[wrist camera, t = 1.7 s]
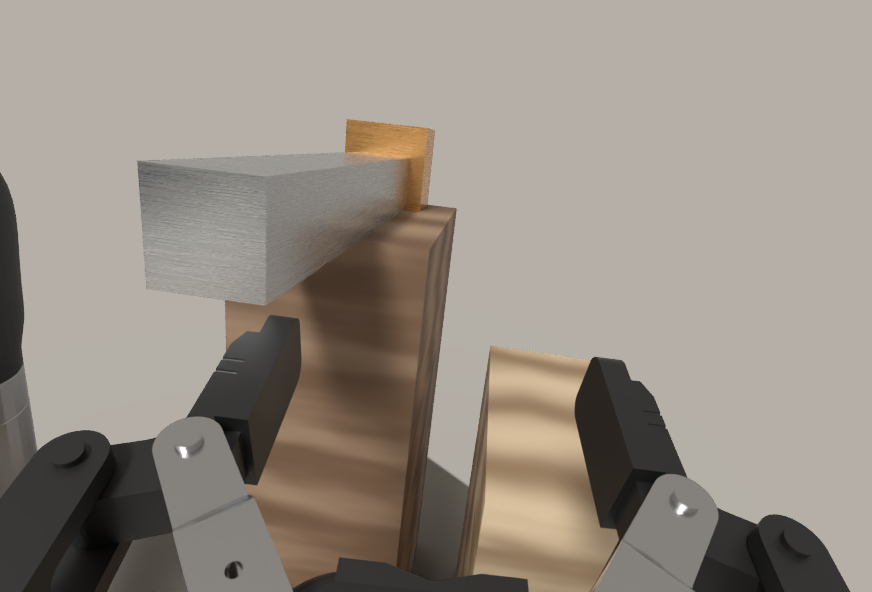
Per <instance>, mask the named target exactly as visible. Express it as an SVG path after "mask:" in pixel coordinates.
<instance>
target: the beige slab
mask: <svg viewBox="0 0 872 592" xmlns="http://www.w3.org/2000/svg"><path fill="white" fill-rule="evenodd" d="M590 361H591V360H586V359H578V358H571V357H565V356H557V355H550V354H544V353H536V352H530V351H523V350H517V349H510V348H503V347H495V346H490V352H489V359H488V366H487V372H486V379H485V385H484V392H483V399H482V406H481V412H480V418H479V425H478V432H477V438H476V445H475V452H474V458H473V465H472V472H471V478H470V485H469V491H468V498H467V504H466V511H465V518H464V524H463V531H462V538H461V544H460V551H459V557H458V564H457V573H456V578H458V577H464V576H471V575H477V574H489V575H497V576H506V577H515V578H523V579H528V589H529V592H590V590H591V588H592V586H593V585H594V583H595V581H596V579H597V577H598V576H599V574H600V572H601V570H602V569H603V567H604V565H605V563H606V561H607V560H608V558H609V556H610V554H611V553H612V551H613V549H614V547H615V546H616V544H617V542H618V541H619V538H618V534H617V530H616V529H608V528H600V525H599V520H598V516H597V512H596V507H595V503H594V498H593V494H592V490H591V485H590V481H589V477H588V472H587V468H586V464H585V459H584V455H583V451H582V446H581V442H580V438H579V433H578V429H577V424H576V420H575V412H574V409H575V400H576V396H577V393H578V391H579V388H580V386H581V383H582V381H583V378H584V376H585V373H586V371H587V368H588V366H589V363H590Z"/></svg>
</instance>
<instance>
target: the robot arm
mask: <svg viewBox="0 0 872 592" xmlns="http://www.w3.org/2000/svg"><path fill="white" fill-rule="evenodd" d="M23 324H24V305H23V295H22V285H21V273H20V260H19V244H18V231H17V222H16V214H15V209H14V204H13V200H12V197H11V194H10V191H9V188H8V186H7V184H6V182H5V180H4V178H3V176H2V175H1V173H0V592H107V590H108V588H109V586H110V584H111V582H112V580H113V578H114V576H115V574H116V572H117V570H118V568H119V566H120V564H121V562H122V561H123V559H124V557H125V555H126V553H127V551H128V549H129V547H130V545H131V543H132V541H133V540H136V539H141V538H146V537H151V536H156V535H161V534H166V533H171V532H173V537H174V541H175V545H176V548H177V552H178V556H179V560H180V564H181V567H182V571H183V575H184V579H185V582H186V586H187V590H188V592H529V589H528V579H523V578H515V577H506V576H497V575H489V574H477V575H471V576H464V577H458V578H452V579H446V580H440V581H431V580H428V579H425V578H423V577H420V576H418V575H415V574H413V573H410V572H408V571H405V570H403V569H400V568H398V567H395V566H393V565H390V564H388V563H385V562H376V561H367V560H359V559H350V558H341V557H339V561H338V565H337V570H336V572H331V573H326V574H323V575H319V576H316V577H314V578H311V579H309V580H307V581H304V582H303V583H301V584H299V585H297V586H296V587H294V588H292V587H291V585H290V583H289V580H288V578H287V575H286V573H285V571H284V568H283V566H282V563H281V561H280V558H279V556H278V554H277V551H276V549H275V546H274V544H273V541H272V539H271V537H270V534H269V532H268V529H267V527H266V525H265V522H264V520H263V517H262V515H261V512H260V510H259V508H258V505H257V503H256V501H255V499H254V497H253V496H252V495H249V494H248V491H247V489H246V487H245V484H249V485H258V482H259V480H260V477H261V475H262V472H263V470H264V467H265V465H266V462H267V460H268V457H269V455H270V452H271V449H272V447H273V444H274V442H275V439H276V437H277V434H278V432H279V429H280V427H281V424H282V422H283V419H284V416H285V414H286V411H287V409H288V406H289V404H290V401H291V399H292V396H293V394H294V391H295V389H296V386H297V383H298V380H299V377H300V372H301V364H302V357H301V336H300V321H299V319H298V318H292V317H285V316H277V315H269V316H268V318H267V320H266V321H265V323H264V325H263V327H262V329H261V331H260V332H251V331H247V332H245V333H244V334H243V335H241V336H240V337H239V338H237V339H236V340H235V341H233V342H232V343H231V345H230V346H229V348H228V350H227V351H226V353H225V355H224V356H223V360H221V361H220V363H219V365H218V366H217V368H216V372H214V373H213V375H212V376H211V378H210V380H209V381H208V383H207V384H206V386H205V388H204V390H203V391H202V393H201V394H200V396H199V398H198V399H197V401H196V403H195V404H194V406H193V408H192V409H191V411H190V413H189V414H188V416H187V417H186V418H184V419H181V420H178V421H176V422H174V423H172V424H170V425H169V426H167V427H166V428H165V429H164V430H162V431H161V432H160V434H159V435H158V436H157V437H156V438H153V439H149V440H143V441H136V442H130V443H122V444H116V445H110V443H109V441H108V439H107V438H106V437H105V436H104V435H103V434H101V433H99V432H95V431H90V430H83V431H75V432H70V433H67V434H64V435H62V436H60V437H57V438H55V439H53V440H51V441H50V442H48V443H47V444H46V445H44V446H43V447H41V448H40V449H39V450H38V451H37V446H36V439H35V432H34V426H33V420H32V413H31V406H30V400H29V396H28V389H27V383H26V376H25V369H24V363H23V357H22V349H21V343H22V333H23ZM574 412H575V420H576V424H577V429H578V433H579V438H580V442H581V446H582V451H583V455H584V459H585V464H586V468H587V472H588V477H589V481H590V485H591V490H592V494H593V498H594V503H595V507H596V512H597V516H598V520H599V525H600V528H608V529H616V530H617V534H618V538H619V541H618V542H617V544H616V546H615V547H614V549H613V551H612V553H611V554H610V556H609V558H608V560H607V561H606V563H605V565H604V567H603V569H602V570H601V572H600V574H599V576H598V577H597V579H596V581H595V583H594V585H593V586H592V588H591V590H590V592H850V591H849V589H848V587H847V585H846V583H845V581H844V580H843V578H842V576H841V574H840V572H839V571H838V569H837V567H836V565H835V563H834V561H833V560H832V558H831V556H830V554H829V552H828V550H827V549H826V547H825V546H824V544H823V543H822V542H821V541H820V539H819V538H818V537H817V536H816V535H815V534H814V533H813V532H812V531H810V530H809V529H808V528H806V527H805V526H804V525H802V524H801V523H799V522H797V521H795V520H793V519H791V518H788V517H786V516H782V515H775V514H774V515H768V516H765V517H764V518H762V520H761V521H760V522H759V523H758V524H755V523H752V522H750V521H747V520H745V519H742V518H740V517H737V516H735V515H732V514H730V513H727V512H725V511H723V510H721V509H719V508H717V507H716V504H715V502H714V500H713V499H712V498H711V496H710V495H709V494H708V492H706V490H704V489H703V488H702V487H701V486H700V485H699V484H697V483H696V482H694V481H692V480H691V479H689V478H687V476H686V473H685V471H684V468H683V466H682V464H681V462H680V459H679V456H678V454H677V452H676V449H675V447H674V444H673V442H672V440H671V437H670V435H669V432H668V430H667V429H665V423H664V420H663V418H662V416H660V411H659V408H658V406H657V404H656V401H655V399H654V397H653V396H652V394H651V393H650V392H649V391H648V390H647V389H646V388H645V386H644V385H643V384H642V383H641V382H640V381H632V380H631V379H630V376H629V373H628V371H627V368H626V365H625V363H624V362H623V361H622V360H615V359H608V358H599V357H594V358H592V360H591V361H590V363H589V366H588V368H587V371H586V373H585V376H584V378H583V381H582V383H581V386H580V388H579V391H578V393H577V396H576V400H575V409H574Z"/></svg>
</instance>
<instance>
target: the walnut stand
mask: <svg viewBox="0 0 872 592" xmlns="http://www.w3.org/2000/svg"><path fill="white" fill-rule="evenodd" d="M455 218H456V208H448V207H441V206H432V205H427V206H425V207H424V208H423V209H422V210H421V211H413V210H404V211H403V212H401V213H400V214H398V215H397V216H396V217H394V218H393V219H391V220H390V221H388V222H387V223H385V224H384V225H382V226H381V227H380V228H378V229H377V230H375V231H374V232H372V233H371V234H369V235H368V236H366V237H365V238H364V239H362V240H361V241H359V242H358V243H356V244H355V245H353V246H352V247H351V248H349V249H348V250H346V251H345V252H343V253H342V254H340V255H339V256H337V257H336V258H335V259H333V260H332V261H330V262H329V263H327V264H326V265H324V266H323V267H321V268H320V269H319V270H317V271H316V272H314V273H313V274H311V275H310V276H308V277H307V278H305V279H304V280H303V281H301V282H300V283H298V284H297V285H295V286H294V287H292V288H291V289H290V290H288V291H287V292H285V293H284V294H282V295H281V296H279V297H278V298H276V299H275V300H274V301H272V302H271V303H269V304H268V305H266V306H263V305H256V304H249V303H242V302H235V301H228V300H225V320H226V351H227V350H228V348H229V346H230V345H231V343H232V342H233V341H235V340H236V339H237V338H239V337H240V336H241V335H243V334H244V333H245V332H247V331H251V332H260V331H261V329H262V327H263V325H264V323H265V321H266V320H267V318H268V316H269V315H277V316H285V317H292V318H298V319H299V321H300V336H301V357H302V364H301V372H300V377H299V380H298V383H297V386H296V389H295V391H294V394H293V396H292V399H291V401H290V404H289V406H288V409H287V411H286V414H285V416H284V419H283V422H282V424H281V427H280V429H279V432H278V434H277V437H276V439H275V442H274V444H273V447H272V449H271V452H270V455H269V457H268V460H267V462H266V465H265V467H264V470H263V472H262V475H261V477H260V480H259V482H258V485H249V484H245V487H246V489H247V491H248V494H249V495H252V496H253V497H254V499H255V501H256V503H257V505H258V508H259V510H260V512H261V515H262V517H263V520H264V522H265V525H266V527H267V529H268V532H269V534H270V537H271V539H272V541H273V544H274V546H275V549H276V551H277V554H278V556H279V558H280V561H281V563H282V566H283V568H284V571H285V573H286V575H287V578H288V580H289V583H290V585H291V587H292V588H294V587H296V586H297V585H299V584H301V583H303V582H304V581H307V580H309V579H311V578H314V577H316V576H319V575H323V574H326V573H331V572H336V570H337V565H338V561H339V557H341V558H350V559H359V560H367V561H376V562H385V563H388V564H390V565H393V566H395V567H398V568H400V569H403V570H405V571H408V572H410V573H411V570H412V565H413V560H414V555H415V550H416V545H417V538H418V530H419V521H420V513H421V505H422V496H423V488H424V479H425V471H426V462H427V454H428V445H429V437H430V429H431V420H432V412H433V403H434V394H435V386H436V377H437V369H438V361H439V352H440V344H441V336H442V327H443V319H444V309H445V302H446V294H447V285H448V277H449V268H450V260H451V251H452V242H453V234H454V226H455Z"/></svg>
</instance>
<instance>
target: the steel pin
mask: <svg viewBox="0 0 872 592" xmlns="http://www.w3.org/2000/svg"><path fill="white" fill-rule="evenodd" d="M434 134H435V130H432V129H428V128H421V127H411V126H402V125H393V124H384V123H375V122H366V121H356V120H347V126H346V146H345V153H321V154H298V155H297V154H296V155H273V156H247V157H223V158H200V159H199V158H198V159H175V160H149V161H137V162H138V176H139V190H140V204H141V219H142V231H143V232H142V233H143V246H144V260H145V276H146V289H151V290H159V291H165V292H172V293H179V294H186V295H193V296H200V297H207V298H214V299H222V300H228V301H235V302H242V303H249V304H256V305H263V306H266V305H268V304H269V303H271V302H272V301H274V300H275V299H276V298H278V297H279V296H281V295H282V294H284V293H285V292H287V291H288V290H290V289H291V288H292V287H294V286H295V285H297V284H298V283H300V282H301V281H303V280H304V279H305V278H307V277H308V276H310V275H311V274H313V273H314V272H316V271H317V270H319V269H320V268H321V267H323V266H324V265H326V264H327V263H329V262H330V261H332V260H333V259H335V258H336V257H337V256H339V255H340V254H342V253H343V252H345V251H346V250H348V249H349V248H351V247H352V246H353V245H355V244H356V243H358V242H359V241H361V240H362V239H364V238H365V237H366V236H368V235H369V234H371V233H372V232H374V231H375V230H377V229H378V228H380V227H381V226H382V225H384V224H385V223H387V222H388V221H390V220H391V219H393V218H394V217H396V216H397V215H398V214H400V213H401V212H403V211H404V210H413V211H421V210H422V209H423V208H424V207H425V206H427V204H428V194H429V183H430V173H431V164H432V154H433V144H434Z"/></svg>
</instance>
